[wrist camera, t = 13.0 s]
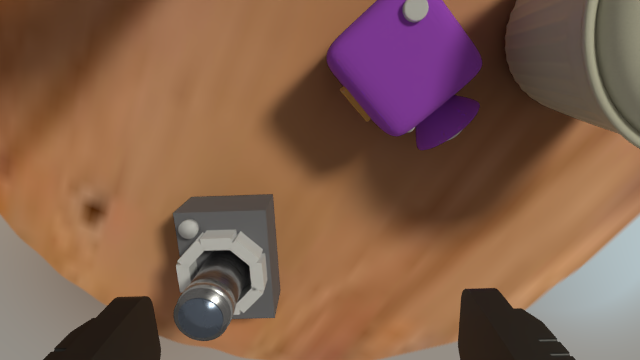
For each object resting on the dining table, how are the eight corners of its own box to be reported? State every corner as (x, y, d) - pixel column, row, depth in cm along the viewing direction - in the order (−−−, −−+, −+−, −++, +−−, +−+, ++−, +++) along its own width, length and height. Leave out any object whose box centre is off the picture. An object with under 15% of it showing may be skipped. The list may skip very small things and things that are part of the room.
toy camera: (414, 158, 39) (443, 184, 29) (311, 76, 37) (306, 76, 27) (486, 74, 37) (544, 72, 27) (381, -19, 35) (402, -56, 25)
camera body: (191, 197, 40) (164, 220, 34) (272, 194, 40) (262, 217, 34) (204, 293, 44) (182, 332, 37) (280, 291, 43) (271, 330, 37)
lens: (201, 247, 37) (167, 294, 29) (247, 246, 36) (225, 292, 29) (207, 288, 38) (176, 343, 30) (252, 287, 38) (232, 342, 30)
